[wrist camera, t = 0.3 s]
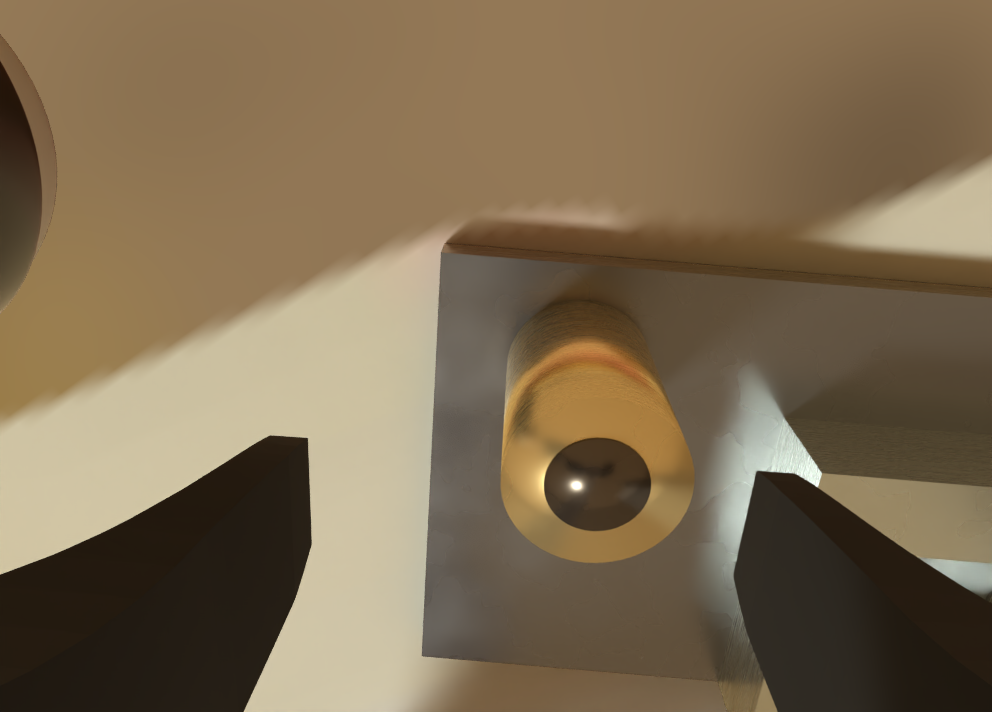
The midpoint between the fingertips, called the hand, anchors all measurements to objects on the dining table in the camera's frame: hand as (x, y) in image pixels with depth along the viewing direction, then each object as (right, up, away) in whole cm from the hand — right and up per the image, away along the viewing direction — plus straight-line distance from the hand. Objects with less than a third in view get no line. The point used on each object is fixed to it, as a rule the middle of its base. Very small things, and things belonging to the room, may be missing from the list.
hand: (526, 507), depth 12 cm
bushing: (+2, +2, +9) cm, 9 cm away
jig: (+8, -2, +12) cm, 14 cm away
